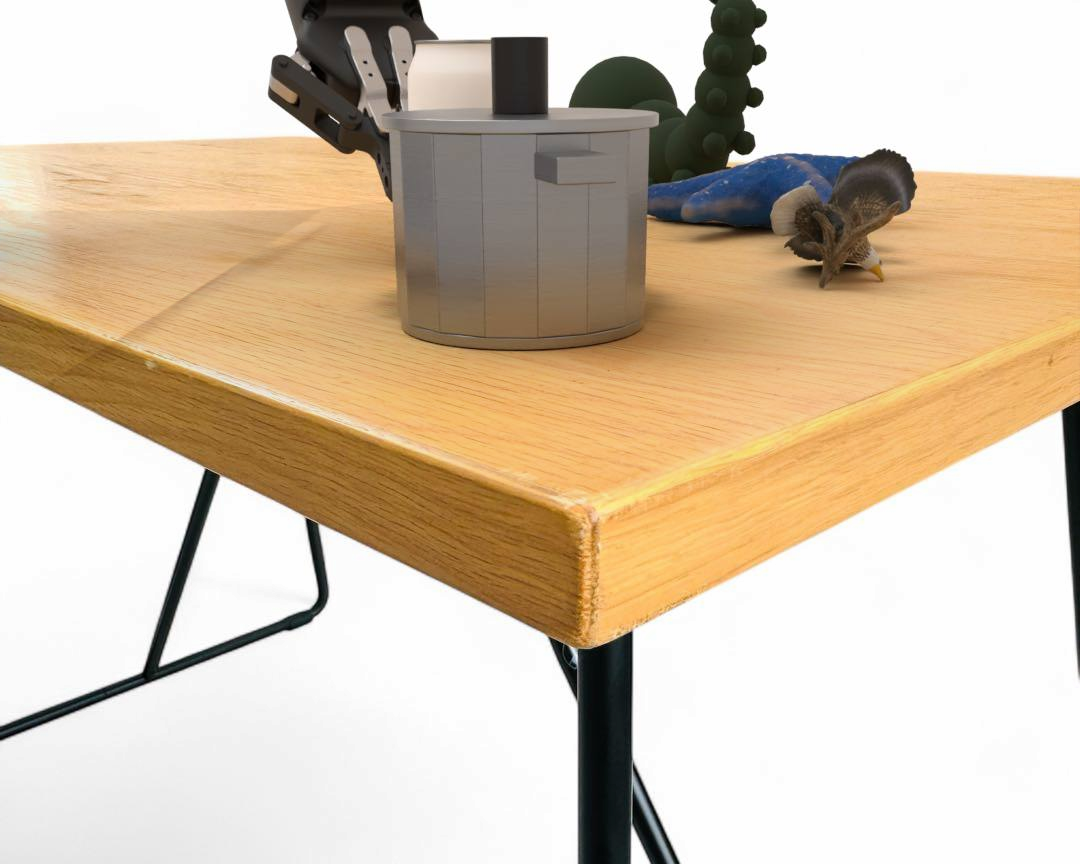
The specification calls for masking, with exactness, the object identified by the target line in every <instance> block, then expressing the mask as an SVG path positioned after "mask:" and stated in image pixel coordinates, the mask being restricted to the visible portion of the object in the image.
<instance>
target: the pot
mask: <svg viewBox="0 0 1080 864" xmlns="http://www.w3.org/2000/svg"><path fill="white" fill-rule="evenodd" d="M389 136H390V156H391V177H392V197H393V202H392V214H393V215H392V216H393V217H392V218H393V234H394V235H393V236H394V237H393V238H394V256H395V277H396V296H397V297H396V298H397V315H398V316H399V318H400V326H401V327H400V328H401V329H402V330H403V331H404V332H405V333H406V334H408V335H409V336H412V337H414V338H417V339H420V340H423V341H427V342H429V343H435V344H438V345H439V344H440V345H445V346H452V347H460V348H469V349H480V350H499V351H530V350H531V351H534V350H552V349H553V350H554V349H555V350H556V349H557V350H558V349H568V348H578V347H585V346H593V345H599V344H603V343H604V344H605V343H608V342H613V341H617V340H620V339H624V338H626V337H629V336H631V335H633V334H636V333H638V332H639V331H640V330H641V329H642V328H643V326H644V324H645V313H646V312H645V310H646V309H645V308H646V307H645V304H646V273H647V271H646V270H647V237H648V236H647V235H648V234H647V233H648V215H647V202H648V166H649V128H646V129H637V130H625V131H609V132H587V133H550V134H463V133H429V132H410V131H398V130H390V129H389Z"/></svg>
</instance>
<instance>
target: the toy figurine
mask: <svg viewBox="0 0 1080 864" xmlns="http://www.w3.org/2000/svg"><path fill="white" fill-rule="evenodd" d="M708 1H709V2H710V3H711V4H712V5H714V6H713V8H712V11H711V14H710V28H711V30H712V32H711V33H710V34H709V35H708V37H707V38H706V40H705V41H704V44H703V47H702V60H703V66H704V70H702V71H701V73H700V75H699V76H698V77H697V80H696V82H695V85H694V102H695V103H693V105H691V107H690V108H689V109H688V111H687V112H686V114H685V113H684V112H683V111H682V110H681V109H680V108H679V107H678V100H677V97H676V93H675V91H674V88H673V86H672V84H671V83H670V82H669V81H670V80H668V78H667V77H666V75H665V74H664V73H662V71H661V70H659V69H658V68H657V67H656V66H654V65H653V64H652V63H650V62H649V61H647V60H645V59H641V58H638V57H636V56H630V55H629V56H628V55H618V56H612V57H609V58H605V59H604V60H601V61H600V62H597V63H595V65H593V66H592V67H590V68H589V69H588V70H586V72H585V73H584V74H583V75H582V76H581V77H580V78H579V81H578V82H577V83H576V84H575V87H574V89H573V91H572V93H571V96H570V99H569V101H568V106H567V108H608V109H632V110H645V111H653V112H657V113H659V124H658V126H656V127H652V128H649V166H648V187H649V186H651V185H653V184H659V183H670V182H679V181H682V180H687V179H690V178H694V177H697V176H700V175H703V174H709V173H714V172H716V171H720V170H728V169H730V168H732V166H728V163H729V158H730V155H731V154H732V153H733V152H735V153H737V154H738V155H740V156H748V155H750V154H751V153H752V152H754V150H755V148H756V146H757V143H756V138H755V135H754V133H751V132H750V131H747V130H745V128H746V124H745V116H744V112H745V110H747V107H748V108H752V109H755V108H758V107H760V106H761V105H762V103H763V102H764V101H765V95H764V92H763V90H762V89H760V88H758V87H756V86H753V87H752V84H751V80H750V77H749V76H748V73H749V72H750V71H751V70H752V68H753V66H755V67H757V66H759V65H761V64H762V63H764V62H765V61H766V60H767V56H768V52H767V49H766V47H765V46H763V45H762V44H760V43H759V44H756V41H755V40H754V39H755V38H753V35H754V34H755V32H756V30H757V29H760V28H762V27H764V26H765V24H766V23H767V21H768V14H767V12H766V10H765V9H762V8H761V7H757V5H756V3H755V1H753V0H708Z"/></svg>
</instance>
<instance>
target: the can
mask: <svg viewBox="0 0 1080 864" xmlns="http://www.w3.org/2000/svg"><path fill="white" fill-rule="evenodd" d="M414 44H416V51H415V55H414V58H413V60H412V63H411V65H410V68H409V71H408V111H414V110H433V109H463V108H492V75H491V39H439V40H415V41H414Z"/></svg>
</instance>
